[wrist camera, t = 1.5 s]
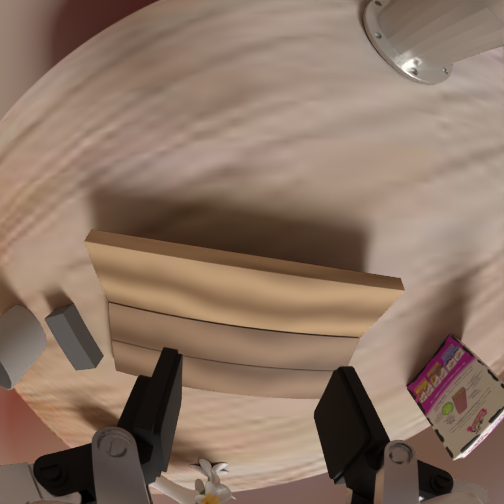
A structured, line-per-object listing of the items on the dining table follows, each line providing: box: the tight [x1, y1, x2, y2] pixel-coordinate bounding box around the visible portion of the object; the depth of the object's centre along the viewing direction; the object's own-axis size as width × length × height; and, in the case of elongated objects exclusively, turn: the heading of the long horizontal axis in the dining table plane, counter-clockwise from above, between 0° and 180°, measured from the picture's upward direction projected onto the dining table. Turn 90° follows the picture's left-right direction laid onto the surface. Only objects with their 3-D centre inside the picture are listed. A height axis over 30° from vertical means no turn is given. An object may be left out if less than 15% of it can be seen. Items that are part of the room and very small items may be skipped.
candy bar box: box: [407, 334, 504, 460], centre depth 25 cm, size 11×5×16 cm, turn 150°
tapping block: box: [45, 303, 104, 370], centre depth 28 cm, size 8×4×3 cm, turn 17°
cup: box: [0, 304, 47, 390], centre depth 24 cm, size 8×8×10 cm
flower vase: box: [149, 459, 235, 504], centre depth 30 cm, size 13×18×25 cm
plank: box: [84, 229, 405, 337], centre depth 24 cm, size 9×28×2 cm, turn 80°
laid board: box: [109, 301, 360, 399], centre depth 29 cm, size 10×28×2 cm, turn 80°
